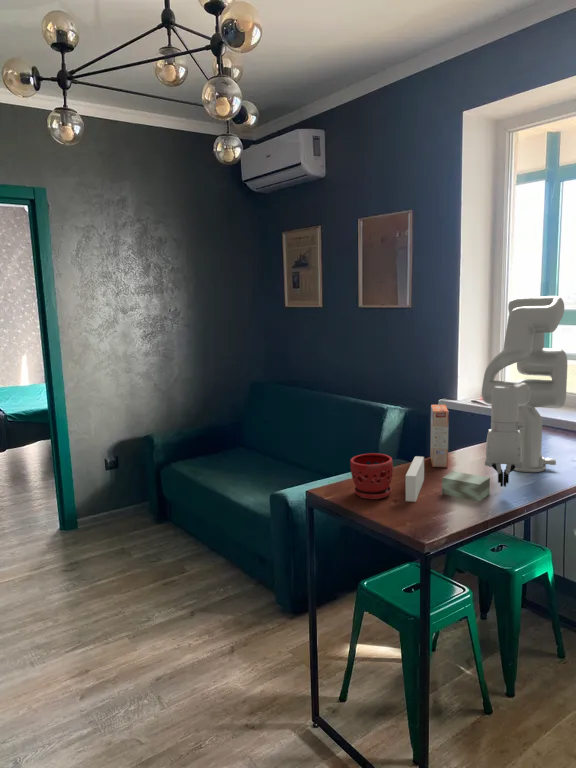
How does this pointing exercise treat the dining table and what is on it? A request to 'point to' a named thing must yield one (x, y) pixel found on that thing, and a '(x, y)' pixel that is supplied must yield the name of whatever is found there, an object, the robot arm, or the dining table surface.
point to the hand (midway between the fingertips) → (503, 485)
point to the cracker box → (439, 435)
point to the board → (414, 478)
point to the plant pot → (372, 475)
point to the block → (466, 485)
